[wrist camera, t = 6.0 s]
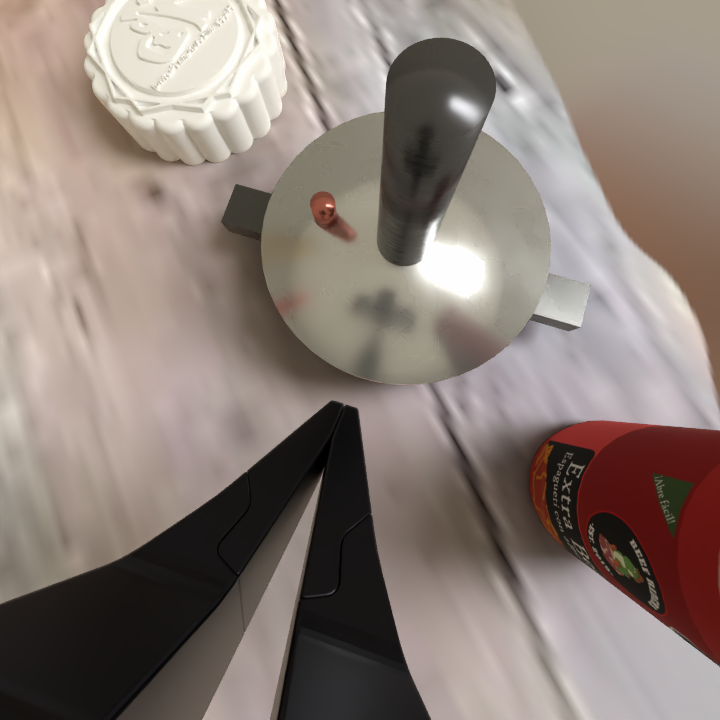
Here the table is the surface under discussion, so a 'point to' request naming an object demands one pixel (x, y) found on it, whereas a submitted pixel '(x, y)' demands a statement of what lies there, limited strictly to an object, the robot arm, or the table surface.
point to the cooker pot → (555, 309)
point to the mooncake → (188, 73)
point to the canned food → (640, 516)
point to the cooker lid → (409, 229)
